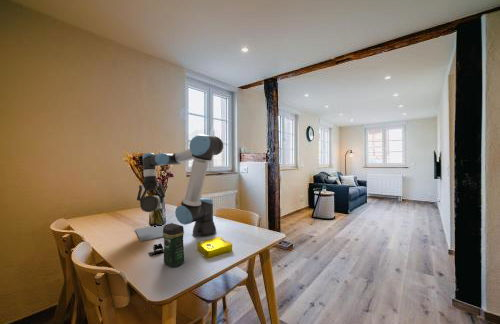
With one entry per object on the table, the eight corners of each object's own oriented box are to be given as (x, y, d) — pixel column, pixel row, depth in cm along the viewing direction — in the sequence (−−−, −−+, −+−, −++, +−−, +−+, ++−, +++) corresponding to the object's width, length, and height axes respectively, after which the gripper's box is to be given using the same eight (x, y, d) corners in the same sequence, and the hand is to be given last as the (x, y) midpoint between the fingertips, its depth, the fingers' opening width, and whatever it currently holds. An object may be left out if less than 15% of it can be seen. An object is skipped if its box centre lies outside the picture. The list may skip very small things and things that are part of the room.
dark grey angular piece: (168, 248, 123) (168, 240, 123) (172, 253, 117) (171, 244, 117) (144, 254, 117) (144, 245, 116) (146, 259, 110) (146, 250, 110)
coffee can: (163, 196, 155) (159, 197, 141) (160, 211, 153) (155, 213, 140) (148, 194, 154) (142, 194, 140) (145, 209, 152) (138, 210, 138)
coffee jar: (187, 262, 105) (186, 224, 104) (172, 269, 99) (171, 228, 98) (175, 257, 111) (174, 220, 110) (160, 263, 105) (159, 224, 104)
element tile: (233, 252, 117) (233, 243, 117) (207, 260, 108) (207, 250, 108) (220, 243, 129) (219, 235, 129) (195, 250, 120) (195, 241, 120)
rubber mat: (174, 234, 143) (174, 233, 143) (140, 241, 132) (140, 240, 132) (165, 225, 165) (165, 223, 165) (135, 230, 154) (135, 229, 154)
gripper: (168, 174, 154) (171, 207, 151) (133, 178, 150) (135, 211, 147) (166, 173, 147) (168, 207, 144) (129, 177, 143) (131, 212, 140)
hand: (152, 209), depth 146 cm, fingers closed on coffee can, 10 cm apart
